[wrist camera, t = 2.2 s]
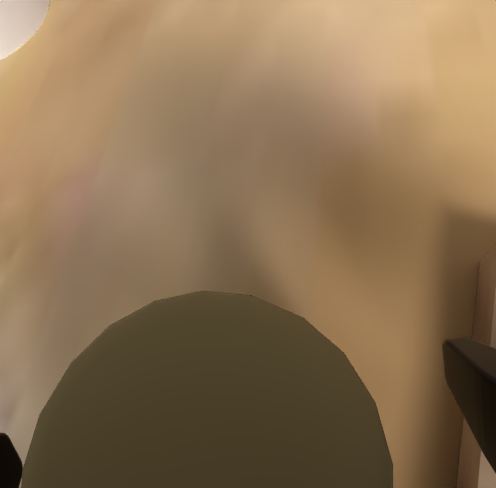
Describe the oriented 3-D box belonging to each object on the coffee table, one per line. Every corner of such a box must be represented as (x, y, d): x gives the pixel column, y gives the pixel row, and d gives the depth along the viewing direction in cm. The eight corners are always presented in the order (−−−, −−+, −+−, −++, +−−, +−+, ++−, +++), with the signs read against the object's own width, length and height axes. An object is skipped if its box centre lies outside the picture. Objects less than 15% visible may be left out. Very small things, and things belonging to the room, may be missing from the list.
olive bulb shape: (251, 614, 13) (60, 1102, 3) (149, 437, 16) (-134, 417, 6) (401, 478, 14) (601, 545, 4) (283, 331, 17) (234, 158, 7)
